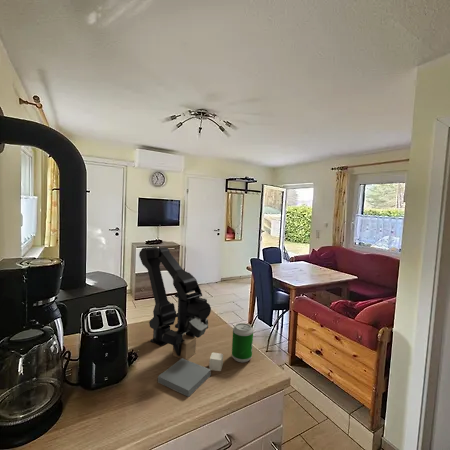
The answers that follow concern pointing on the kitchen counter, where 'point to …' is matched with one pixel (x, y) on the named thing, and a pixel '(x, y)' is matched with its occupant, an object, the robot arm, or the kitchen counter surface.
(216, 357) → the pale stone block
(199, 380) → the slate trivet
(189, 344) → the walnut cube
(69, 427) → the kitchen counter surface
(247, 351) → the soda can
